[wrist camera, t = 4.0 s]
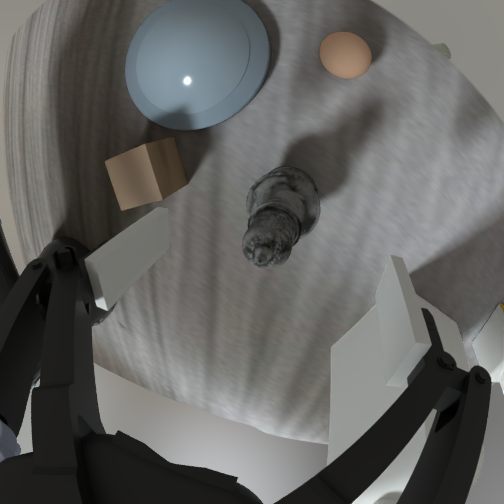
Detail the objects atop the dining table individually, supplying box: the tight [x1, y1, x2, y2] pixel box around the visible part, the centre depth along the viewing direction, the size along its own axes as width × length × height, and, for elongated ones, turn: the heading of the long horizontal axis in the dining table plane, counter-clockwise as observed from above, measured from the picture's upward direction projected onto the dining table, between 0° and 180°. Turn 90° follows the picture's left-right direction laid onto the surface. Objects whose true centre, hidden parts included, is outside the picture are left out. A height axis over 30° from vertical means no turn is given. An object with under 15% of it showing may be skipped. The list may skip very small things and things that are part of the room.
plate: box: [125, 0, 271, 130], centre depth 20 cm, size 14×14×1 cm
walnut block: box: [105, 136, 188, 211], centre depth 24 cm, size 5×5×5 cm
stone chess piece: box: [242, 167, 320, 269], centre depth 20 cm, size 6×6×12 cm
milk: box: [327, 294, 484, 504], centre depth 18 cm, size 12×12×26 cm
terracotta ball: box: [319, 31, 372, 79], centre depth 16 cm, size 4×4×4 cm
